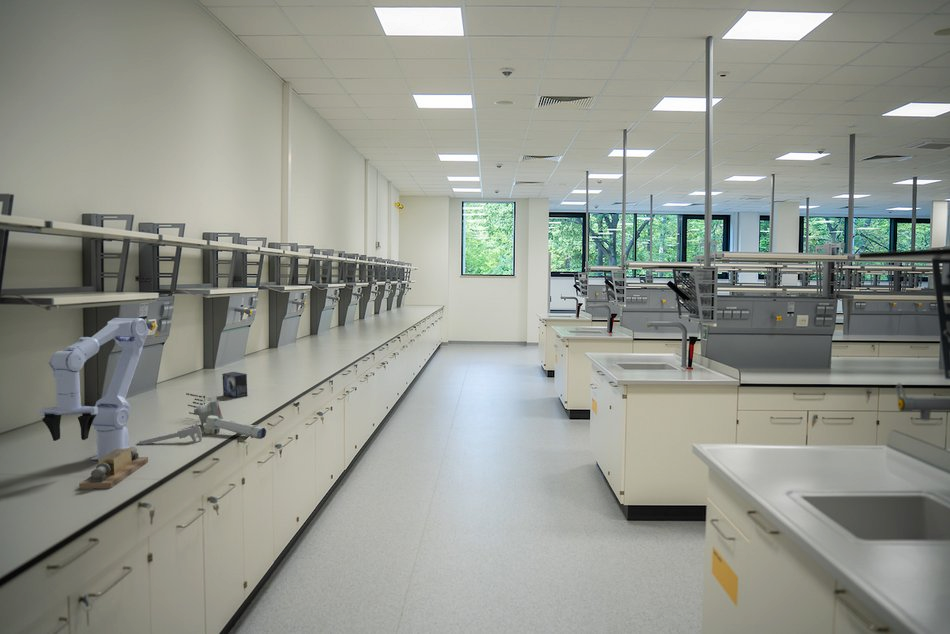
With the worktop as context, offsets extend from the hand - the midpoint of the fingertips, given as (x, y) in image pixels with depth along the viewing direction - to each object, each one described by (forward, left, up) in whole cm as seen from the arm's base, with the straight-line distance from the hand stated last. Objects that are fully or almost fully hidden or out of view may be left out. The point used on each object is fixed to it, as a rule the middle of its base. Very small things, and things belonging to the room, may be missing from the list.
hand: (70, 439), depth 173 cm
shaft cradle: (+4, +14, -9) cm, 17 cm away
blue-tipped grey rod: (-36, +34, -10) cm, 51 cm away
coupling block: (+4, +14, -8) cm, 16 cm away
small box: (-104, +15, -10) cm, 106 cm away
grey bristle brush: (-56, +18, -10) cm, 59 cm away
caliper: (-28, +16, -10) cm, 34 cm away
